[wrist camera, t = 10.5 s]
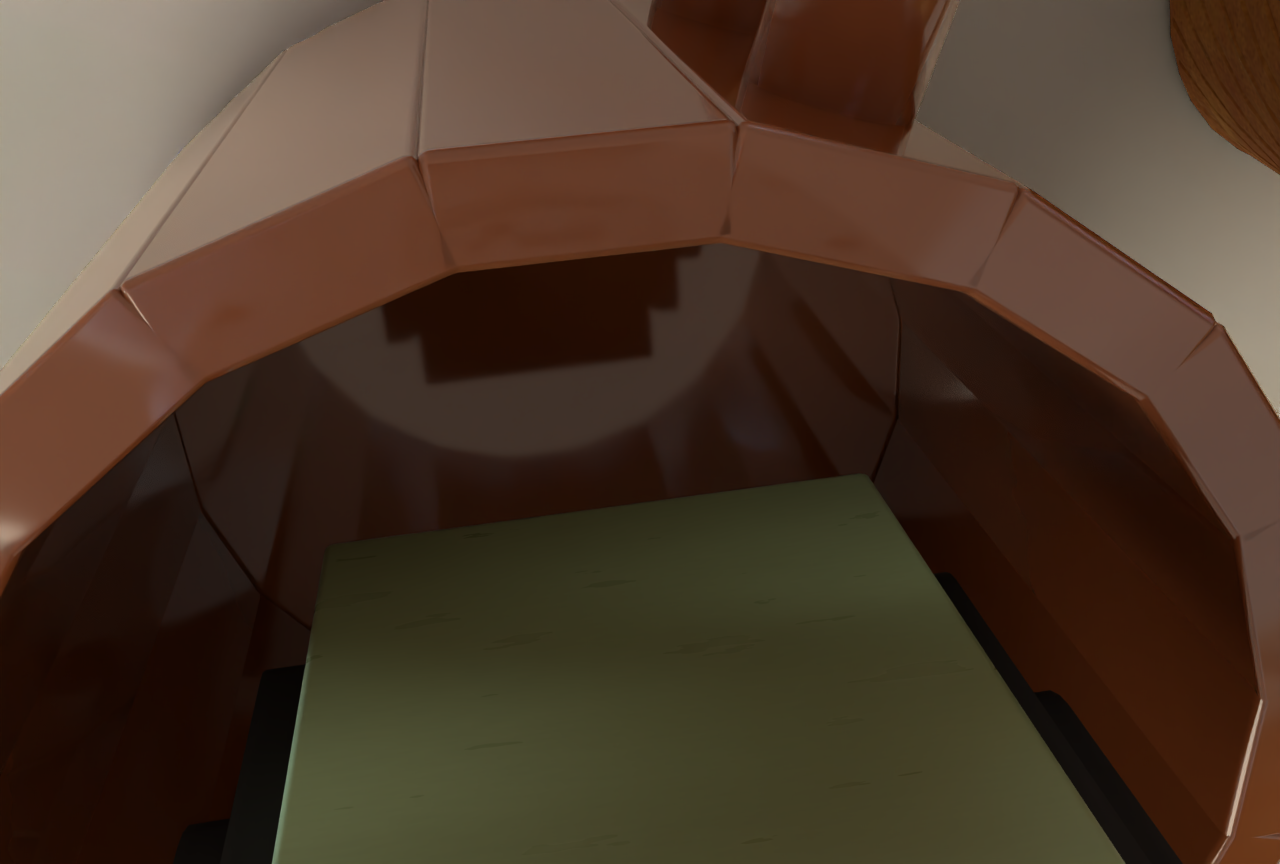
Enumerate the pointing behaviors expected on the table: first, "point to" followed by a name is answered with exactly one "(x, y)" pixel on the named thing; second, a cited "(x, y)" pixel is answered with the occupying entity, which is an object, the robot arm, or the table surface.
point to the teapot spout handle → (837, 49)
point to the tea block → (665, 697)
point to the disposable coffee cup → (1233, 69)
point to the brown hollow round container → (606, 399)
